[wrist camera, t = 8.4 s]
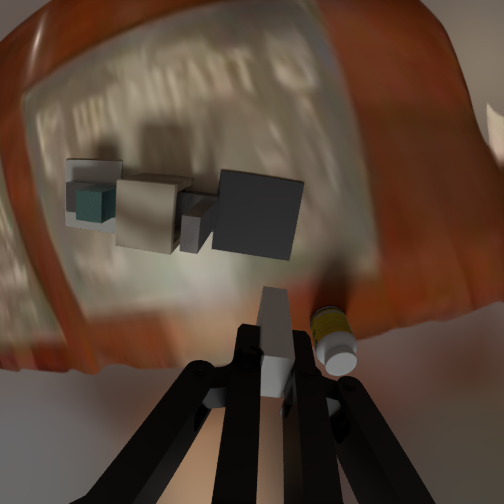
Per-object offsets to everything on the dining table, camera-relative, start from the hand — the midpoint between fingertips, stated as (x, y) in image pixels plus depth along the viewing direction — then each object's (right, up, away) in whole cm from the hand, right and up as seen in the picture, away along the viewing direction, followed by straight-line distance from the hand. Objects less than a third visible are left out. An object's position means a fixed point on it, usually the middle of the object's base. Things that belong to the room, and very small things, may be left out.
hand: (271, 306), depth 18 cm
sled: (-19, +11, +23) cm, 32 cm away
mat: (-28, +13, +24) cm, 39 cm away
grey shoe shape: (-1, +9, +24) cm, 25 cm away
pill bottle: (+12, -8, +30) cm, 33 cm away
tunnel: (-14, +11, +24) cm, 30 cm away
